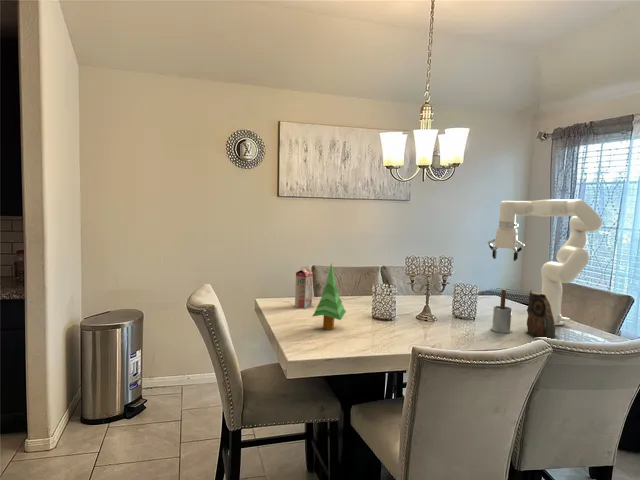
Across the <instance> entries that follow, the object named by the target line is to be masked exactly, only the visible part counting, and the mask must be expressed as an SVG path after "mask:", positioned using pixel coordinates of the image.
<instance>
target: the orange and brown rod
mask: <svg viewBox="0 0 640 480" xmlns="http://www.w3.org/2000/svg"><path fill="white" fill-rule="evenodd" d="M500 293H501V294H500V305H499V306H500V309H505V307H506V297H507V289H505V288H501V292H500Z"/></svg>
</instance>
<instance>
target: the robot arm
mask: <svg viewBox="0 0 640 480" xmlns="http://www.w3.org/2000/svg"><path fill="white" fill-rule="evenodd" d="M528 216H529V217H530V216H534V217H549V218H550V217H571V218H570V219H569V222H568V223H569V228H570V236H568V239H567V240H566V241H565V242H564V244H563V245H562V246H561V247H560V248H559V250H558V251H557V252H556V255H555V257H556V260H557V261H547V262H545V263H544V264H543V265H542V267H541V269H540V273H541V274H540V275H541V294H544V295H545V296H546V298H547V299H548V301H549V303H550V306H551V311H552V314H553V318H554V323H555V326H563V325H564V322H566V323H571V318H569V317H564V316H563V315H562V300H563V289H564V288H563V284H569V283H572V282H573V281H574V280H575V279H576V278H577V277H578V276H579V275H580V274H581V272H582V271H583V270H584V269H585V267H586V266H587V264H588V262H589V260H590V254H589V251H588V250H586V249H585V247H587V244H588V234H587V232H590V233H594V232H598V231H600V230H601V228H602V226H603V220H602V218H601V217H600V214H598V213H597V212H596V211H595V210H594V209H593V207H591V205H590V204H588V203H587V202H586V201H584V200H583V199H540V200H538V199H537V200H502V201H500V205H499V220H498V221H499V222H498V227H497V228H496V233H495V237H494V239H491V240H489V241H487V244H488V247H489V248H490V250H491V251H492V254H491V255H492V258H493V260H495V259H496V260H497V254H498V253H497V250H498V249H499V248H500V249H512V250H513V261H514V262H516V261H517V260H518V259H519V258H518V257H519V253H520V251H522V250H523V249H524V247H525V243H523V242H521V241H520V240H518V228H517V227H519V223H517V221H516V220H517V217H528ZM493 243H494V246H493ZM518 245H519V246H520V247H518ZM517 247H518V248H517Z"/></svg>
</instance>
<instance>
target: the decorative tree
mask: <svg viewBox="0 0 640 480" xmlns="http://www.w3.org/2000/svg"><path fill="white" fill-rule="evenodd" d="M336 283H337V280H336V277H335V273H334V267H333V263H330V266H329V270H328V273H327V277H326V281H325V285H324V289H323V291H322V295H321V297H320V300H319V303H318V304H317V307H316V308H315V311H314V313H313V314H312V317H317V316H323V318H322V319H323V322H322V327H323V328H322V329H323V330H326V331H331V330H334V328H335V319H336V320H338V321H342V319H343V318H344V315H345V314H346V312H347V311H346V309H345V306H344V304H343V301H342V299H341V296H340V294H339V292H338V291H339V290H338V287H337V285H336Z"/></svg>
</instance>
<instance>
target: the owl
mask: <svg viewBox="0 0 640 480" xmlns="http://www.w3.org/2000/svg"><path fill="white" fill-rule="evenodd" d="M526 312H527V319H526V328H527V331H526V334H527V335H529V336H531V337H532V338H535V337H547V338H550V339H552V338H554V337H556V325H555V323H554V318H553V314H552V311H551V306H550V303H549V301H548V299H547V298H546V296H545V295H544V294H542V292H541V293H540V292H537V291H534V290H530V291H529V296H528V305H527V308H526Z"/></svg>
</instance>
